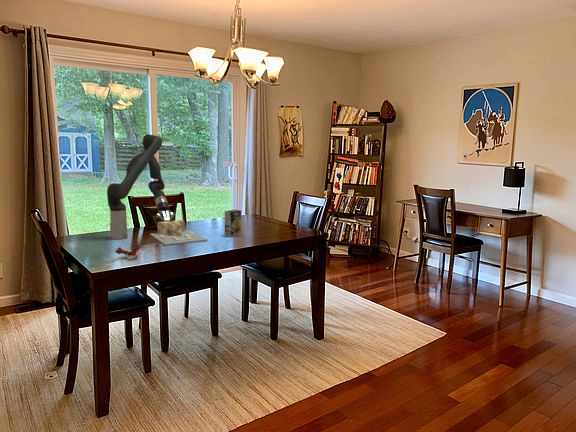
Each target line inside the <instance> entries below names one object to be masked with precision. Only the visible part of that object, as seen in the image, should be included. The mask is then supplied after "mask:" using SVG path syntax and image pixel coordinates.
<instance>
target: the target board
mask: <svg viewBox="0 0 576 432" xmlns="http://www.w3.org/2000/svg"><path fill="white" fill-rule="evenodd" d="M150 235H151V236H152V237H153V238H155V239H156V240H157V241H159V242H160V243H162V245H163V246H164V247H166V246H167V247H168V246H169V247H170V246H175V245H176V246H177V245H185V244H193V243H203V242H208V240H209V239H208V238H206V237H204V236H202V235H200V234H198V233H197V232H195V231H192V230H190V229H185V232H182V236H176V237H174V236H172V235H170V234H161V235H160V234H158V232H153V233H150Z"/></svg>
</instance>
